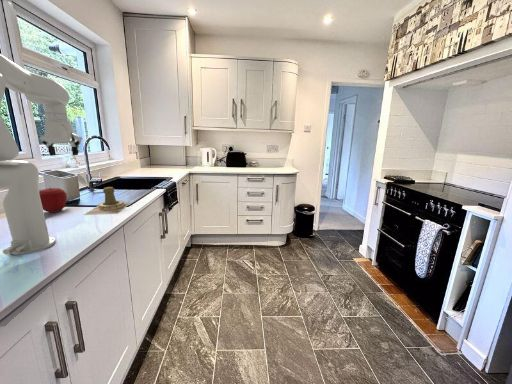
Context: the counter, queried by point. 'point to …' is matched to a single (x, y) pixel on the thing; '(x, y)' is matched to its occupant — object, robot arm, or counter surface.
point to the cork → (109, 196)
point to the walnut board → (113, 211)
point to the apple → (53, 199)
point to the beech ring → (110, 207)
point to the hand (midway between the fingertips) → (64, 155)
